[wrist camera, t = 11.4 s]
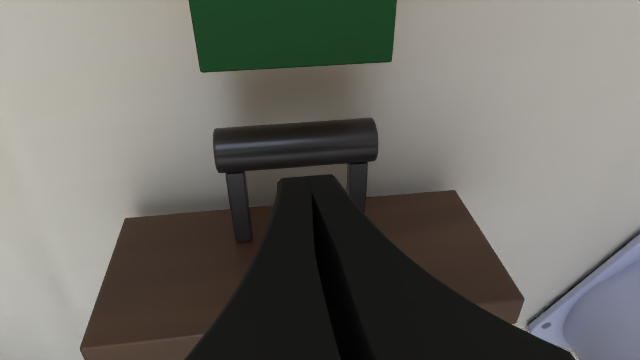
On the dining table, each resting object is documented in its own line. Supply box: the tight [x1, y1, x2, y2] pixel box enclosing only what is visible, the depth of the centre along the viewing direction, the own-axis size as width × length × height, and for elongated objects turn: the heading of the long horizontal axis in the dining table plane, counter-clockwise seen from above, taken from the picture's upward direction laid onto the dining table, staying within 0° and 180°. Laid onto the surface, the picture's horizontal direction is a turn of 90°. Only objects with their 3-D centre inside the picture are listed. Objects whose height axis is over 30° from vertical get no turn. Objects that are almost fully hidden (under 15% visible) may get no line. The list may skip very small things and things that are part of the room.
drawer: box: [80, 118, 524, 360], centre depth 18 cm, size 16×13×6 cm
